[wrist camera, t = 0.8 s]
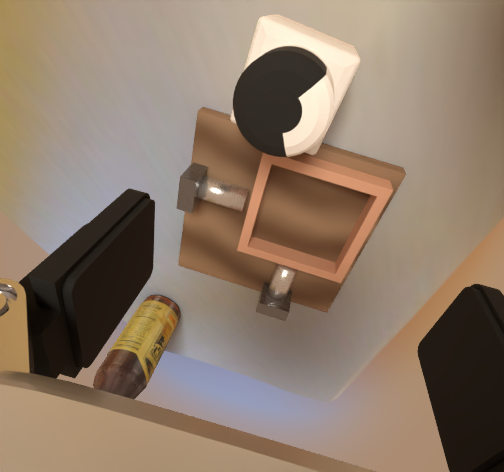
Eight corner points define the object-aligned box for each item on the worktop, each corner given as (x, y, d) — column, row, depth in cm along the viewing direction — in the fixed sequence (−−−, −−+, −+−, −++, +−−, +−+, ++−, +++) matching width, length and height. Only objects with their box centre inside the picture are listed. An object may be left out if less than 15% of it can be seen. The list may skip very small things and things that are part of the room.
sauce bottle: (176, 326, 52) (108, 466, 37) (140, 310, 52) (55, 445, 36) (187, 302, 49) (116, 446, 33) (148, 284, 48) (56, 423, 32)
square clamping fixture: (203, 106, 32) (183, 122, 28) (403, 167, 31) (413, 192, 27) (182, 258, 44) (167, 284, 40) (326, 303, 43) (326, 335, 39)
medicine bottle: (247, 100, 31) (208, 144, 21) (275, 12, 26) (241, 17, 17) (318, 129, 31) (311, 186, 21) (356, 47, 27) (370, 71, 17)
